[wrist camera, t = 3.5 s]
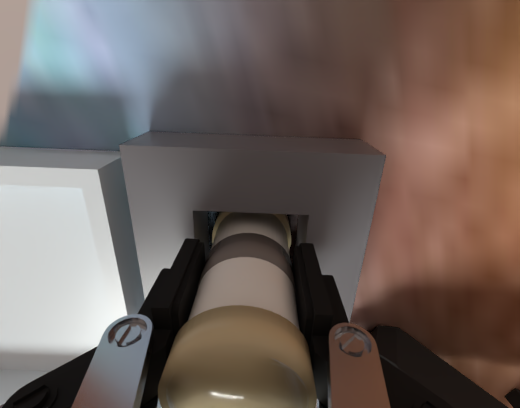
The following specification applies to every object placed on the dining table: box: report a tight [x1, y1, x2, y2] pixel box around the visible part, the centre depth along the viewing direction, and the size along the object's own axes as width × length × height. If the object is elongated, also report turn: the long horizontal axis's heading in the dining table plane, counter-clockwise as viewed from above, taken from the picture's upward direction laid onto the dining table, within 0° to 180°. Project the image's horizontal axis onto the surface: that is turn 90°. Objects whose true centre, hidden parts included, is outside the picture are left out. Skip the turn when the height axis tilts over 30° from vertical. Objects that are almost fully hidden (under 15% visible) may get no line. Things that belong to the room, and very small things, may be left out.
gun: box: [371, 325, 520, 408], centre depth 17 cm, size 3×16×10 cm, turn 64°
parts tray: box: [0, 146, 145, 405], centre depth 16 cm, size 16×14×3 cm
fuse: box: [158, 212, 317, 408], centre depth 11 cm, size 4×4×9 cm
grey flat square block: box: [119, 131, 386, 323], centre depth 14 cm, size 10×10×3 cm
